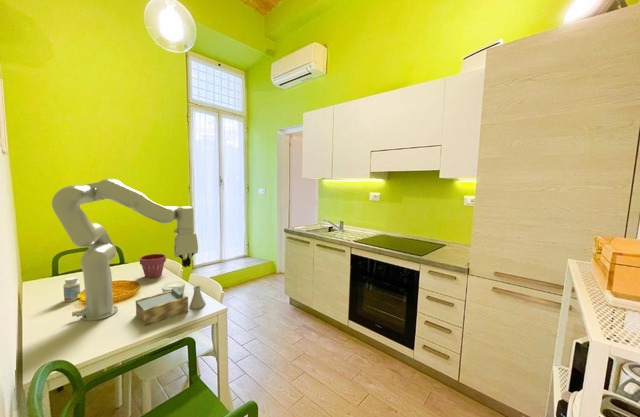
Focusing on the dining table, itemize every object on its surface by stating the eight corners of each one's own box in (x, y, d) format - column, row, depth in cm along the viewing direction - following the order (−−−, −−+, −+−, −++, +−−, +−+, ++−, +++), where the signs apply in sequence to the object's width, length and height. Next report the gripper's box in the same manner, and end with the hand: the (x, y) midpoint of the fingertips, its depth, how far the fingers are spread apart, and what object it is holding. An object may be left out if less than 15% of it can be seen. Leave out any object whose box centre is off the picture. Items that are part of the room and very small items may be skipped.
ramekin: (164, 300, 134) (163, 291, 133) (160, 293, 142) (159, 284, 142) (187, 295, 141) (187, 286, 141) (182, 288, 150) (182, 279, 149)
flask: (199, 310, 125) (198, 290, 124) (186, 308, 127) (185, 289, 126) (208, 303, 132) (208, 284, 131) (195, 302, 134) (195, 283, 133)
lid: (143, 311, 111) (143, 305, 111) (137, 303, 118) (136, 297, 118) (186, 298, 124) (186, 292, 124) (178, 291, 131) (178, 286, 131)
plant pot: (170, 271, 175) (170, 253, 174) (159, 279, 161) (158, 259, 160) (148, 271, 174) (148, 253, 173) (135, 279, 160) (134, 259, 159)
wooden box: (144, 326, 111) (144, 310, 110) (136, 315, 119) (135, 300, 119) (188, 311, 124) (188, 296, 123) (177, 302, 133) (177, 288, 132)
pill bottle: (61, 301, 130) (59, 279, 129) (75, 296, 136) (74, 275, 135) (69, 303, 129) (67, 281, 127) (83, 297, 134) (82, 277, 133)
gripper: (171, 234, 121) (172, 271, 123) (204, 230, 133) (204, 264, 135) (166, 231, 126) (167, 268, 128) (197, 228, 138) (198, 261, 140)
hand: (186, 266), depth 131 cm, fingers closed
